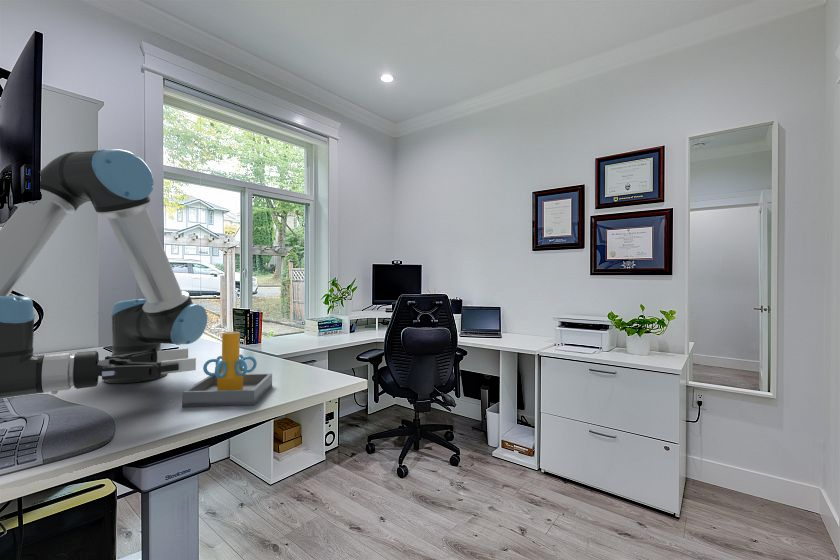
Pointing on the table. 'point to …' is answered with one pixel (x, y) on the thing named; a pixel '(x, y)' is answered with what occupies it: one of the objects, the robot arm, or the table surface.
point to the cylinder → (230, 363)
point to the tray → (227, 392)
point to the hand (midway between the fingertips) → (191, 358)
